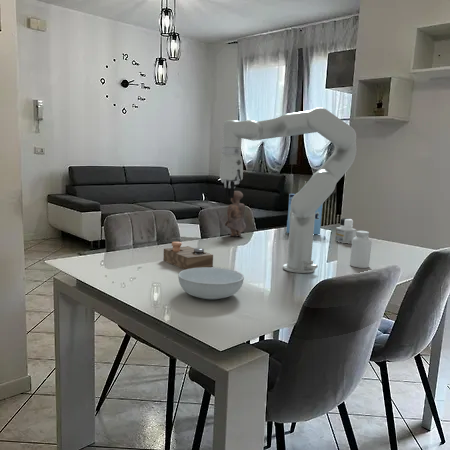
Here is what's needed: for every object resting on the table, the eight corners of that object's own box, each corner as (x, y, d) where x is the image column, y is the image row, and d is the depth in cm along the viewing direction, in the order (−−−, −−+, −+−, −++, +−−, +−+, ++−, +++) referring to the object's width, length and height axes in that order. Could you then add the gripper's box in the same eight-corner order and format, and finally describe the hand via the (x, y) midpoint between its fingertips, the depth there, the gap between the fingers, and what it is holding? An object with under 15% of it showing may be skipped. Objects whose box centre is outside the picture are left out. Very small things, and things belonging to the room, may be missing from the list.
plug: (205, 262, 185) (205, 249, 184) (197, 263, 183) (197, 250, 182) (199, 260, 188) (200, 247, 187) (191, 261, 186) (191, 248, 185)
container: (334, 241, 255) (336, 217, 253) (345, 240, 258) (348, 217, 256) (343, 243, 248) (346, 219, 246) (355, 243, 251) (357, 219, 249)
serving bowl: (240, 287, 159) (241, 267, 158) (245, 307, 138) (246, 285, 137) (179, 284, 158) (180, 265, 157) (175, 304, 137) (176, 282, 136)
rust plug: (183, 255, 188) (183, 243, 187) (174, 256, 185) (175, 243, 185) (177, 253, 191) (178, 241, 190) (169, 254, 188) (169, 242, 188)
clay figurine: (236, 233, 262) (238, 189, 259) (250, 236, 256) (252, 191, 252) (220, 235, 253) (223, 190, 249) (234, 238, 246) (237, 191, 242)
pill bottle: (356, 268, 193) (359, 233, 191) (346, 264, 201) (349, 229, 199) (372, 268, 195) (376, 233, 193) (362, 263, 203) (365, 229, 201)
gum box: (286, 233, 272) (289, 194, 269) (286, 231, 277) (289, 193, 274) (320, 235, 271) (323, 196, 267) (319, 233, 276) (322, 195, 272)
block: (212, 267, 184) (213, 254, 183) (187, 270, 177) (187, 257, 176) (187, 257, 198) (188, 246, 197) (163, 260, 191) (163, 248, 190)
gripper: (250, 153, 181) (248, 199, 184) (227, 151, 193) (225, 195, 196) (236, 152, 177) (233, 200, 179) (212, 151, 188) (210, 196, 191)
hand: (229, 197), depth 188 cm, fingers closed
